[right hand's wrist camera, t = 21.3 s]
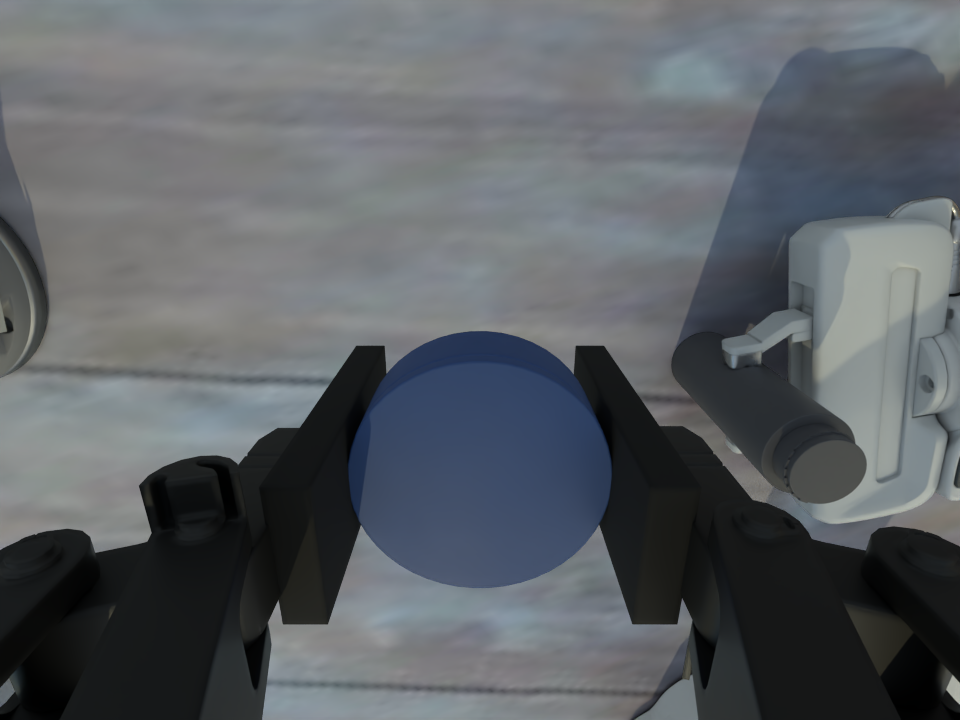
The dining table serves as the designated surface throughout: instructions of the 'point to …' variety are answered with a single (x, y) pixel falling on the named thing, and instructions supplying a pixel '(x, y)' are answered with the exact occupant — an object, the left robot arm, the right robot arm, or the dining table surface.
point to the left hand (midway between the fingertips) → (727, 398)
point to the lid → (479, 462)
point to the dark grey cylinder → (772, 423)
